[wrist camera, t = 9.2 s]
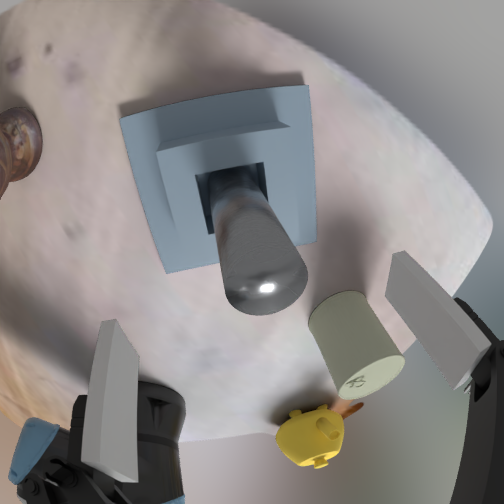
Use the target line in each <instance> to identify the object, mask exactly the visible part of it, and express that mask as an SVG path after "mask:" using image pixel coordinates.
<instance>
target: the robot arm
mask: <svg viewBox="0 0 504 504" xmlns="http://www.w3.org/2000/svg"><path fill="white" fill-rule="evenodd" d="M385 297H386V298H387V300H388V301H389V302H390V303H391V305H392V306H393V307H394V308H395V310H396V311H397V312H398V314H399V315H400V316H401V318H402V319H403V320H404V322H405V323H406V324H407V326H408V327H409V328H410V330H411V331H412V332H413V334H414V335H415V336H416V338H417V339H418V340H419V342H420V343H421V345H422V346H423V347H424V349H425V350H426V352H427V353H428V354H429V356H430V357H431V359H432V360H433V361H434V363H435V364H436V366H437V367H438V369H439V370H440V371H441V373H442V375H443V376H444V378H445V379H446V381H447V382H448V383H449V385H450V387H451V388H452V390H454V389H456V388H457V387H459V386H460V385H462V384H463V383H465V381H466V380H467V379H468V377H469V376H470V375H471V377H472V378H473V379H472V380H471V382H470V383H469V384H468V386H467V387H466V388H465V390H464V393H466V392H467V391H468V390H469V388H470V391H469V394H470V401H469V411H468V420H467V428H466V435H465V442H464V447H463V452H462V458H461V462H460V467H459V471H458V475H457V479H456V483H455V487H454V491H453V495H452V498H451V501H450V504H504V340H501V341H499V339H498V338H497V337H496V336H495V335H494V334H493V333H492V331H491V330H490V329H489V328H488V327H487V326H486V324H485V323H484V322H483V321H482V320H481V319H480V318H478V315H477V314H476V313H475V312H473V310H472V309H471V308H470V306H469V305H468V304H467V303H466V302H464V301H462V300H461V299H459V298H455V299H452V297H451V296H450V295H449V294H448V293H447V292H446V291H445V290H444V289H443V288H442V287H441V286H440V285H439V284H438V283H437V282H436V281H435V280H434V279H433V278H432V277H431V276H430V275H429V274H428V273H427V272H426V271H425V270H424V269H423V268H422V267H421V266H420V265H419V264H418V263H417V262H416V261H415V260H414V259H413V258H412V257H411V256H410V255H409V254H408V253H407V252H406V251H405V250H404V251H401V252H397V253H394V254H393V256H392V262H391V267H390V272H389V278H388V283H387V287H386V292H385ZM138 371H139V355H138V354H137V352H136V350H135V349H134V347H133V346H132V344H131V343H130V341H129V339H128V338H127V336H126V335H125V333H124V331H123V330H122V328H121V326H120V325H119V323H118V321H117V320H116V319H113V320H108V321H102V323H101V327H100V331H99V336H98V340H97V345H96V350H95V355H94V360H93V365H92V371H91V376H90V382H89V389H88V395H79V396H78V398H77V400H76V401H75V403H74V405H73V411H72V419H71V428H70V431H69V430H67V429H64V428H61V427H60V425H58V424H52V423H49V422H47V421H44V420H42V419H39V418H35V417H32V418H29V419H28V420H26V422H25V424H24V426H23V428H22V431H21V434H20V437H19V440H18V443H17V446H16V449H15V452H14V455H13V459H12V463H11V467H10V471H9V475H8V478H9V480H10V481H11V482H12V483H13V484H14V485H17V497H18V498H19V499H20V501H21V502H22V503H23V504H185V499H184V498H185V495H184V492H183V485H182V476H181V468H180V458H179V449H178V440H179V437H180V433H181V430H182V427H183V423H184V420H185V416H186V408H185V401H184V399H183V398H182V397H181V396H180V395H179V394H178V393H176V392H174V391H172V390H170V389H168V388H165V387H163V386H159V385H155V384H151V383H144V382H138Z"/></svg>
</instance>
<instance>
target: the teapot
mask: <svg viewBox="0 0 504 504" xmlns="http://www.w3.org/2000/svg"><path fill="white" fill-rule="evenodd" d="M327 407H328V405H327V404H324V405H321V406H319V407H318V408H317V409H316V410H314V411H310V412H306V413H303V414H302V413H301V410H293V411H291V412H290V413H289V416H290V417H291V419H289V420H288V421H286V422H285V423H283V424H282V425H281V427H280V428H279V430H278V432H277V434H276V442H277V444H278V446H279V448H280V449H281V451H282V452H283V453H284V454H285V455H286V456H287V457H288V458H289V459H290V460H292V461H293V462H295V463H296V464H297V465H299V466H308V465H312V464H314V468H320V467H323V466H326V465H327V464H328V462H327V461H326V460H327V459H330V458H332V457H334V456H335V455H337V454H338V453H339V451H340V448H341V445H342V441H343V436H344V424H343V419H342V417H341V415H340V414H338V413H336V412H334V411H332V410H329V409H327Z"/></svg>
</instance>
